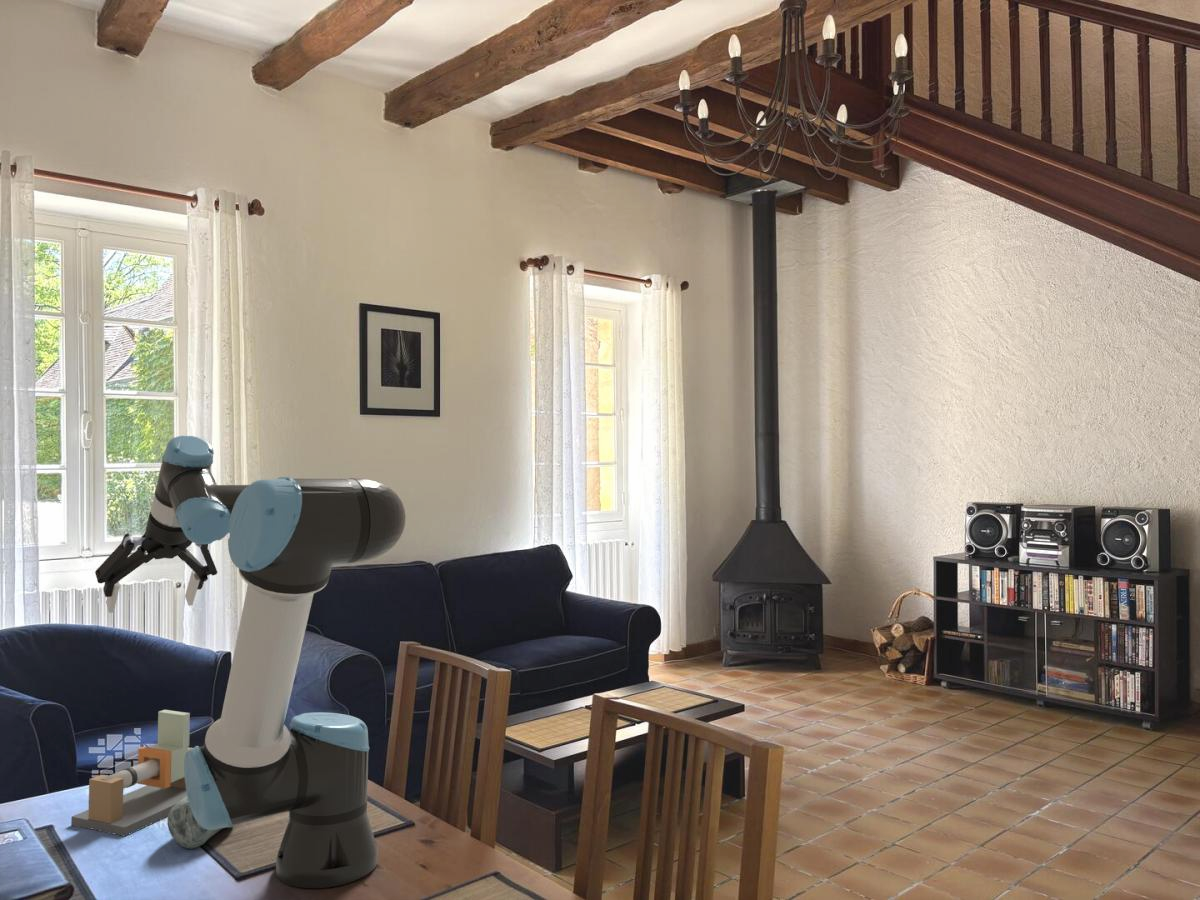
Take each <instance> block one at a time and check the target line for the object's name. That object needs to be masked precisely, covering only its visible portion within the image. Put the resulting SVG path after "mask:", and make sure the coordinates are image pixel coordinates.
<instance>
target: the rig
mask: <svg viewBox="0 0 1200 900" xmlns="http://www.w3.org/2000/svg"><path fill="white" fill-rule="evenodd" d="M192 748H193V747H190V746H188V750H190V749H192ZM159 774H160V759H156V758H154V759H151V760H149V761H146V762H143V763H141V764H138V763H137V764H136V765H133V766H131V767H127V768H124V769H122V770H120V771H117V772H114V773H113V774H112V773H111V774H110V775H106V774H99V775H97V776H94V777H91V778H89V780H88V809H87V810H85V811H82V812H80V813H77V814H75V815H73V816H71V823H70V824H71V826H72V827H76V828H83V829H86V828H93V829H96V830H101V831H106V832H110V833H109V834H111V833H115V834H114V835H116V834H119V835H118V836H121V835H127V834H129V833H131V832H133V831H135V830H137V829H139V830H141V829H140V828H142V827H144V828H145V826H146V825H148V826H149V824H150V825H152V824H155V823H156V821H157V822H158V820H159V821H161V820H162V818H163V819H165V818H168V814H169V812H170V810H171V809H172V807H173V806H175V805H176V804H177V803H178V802H179V801H180V800H181V799H182V798H184V797H185V796H186V795H187V791H186V785H185V777H183V778H181V779H179V780H176V781H174V782H172V783H170V787H167V788H159V787H153V786H148V785H143V786H141V787H139V788H138V789H134V790H133V791H130V792H128V793H126V794H124V789H127V788H131V787H134V786H135V785H136V784H138V783H139V782H141V781H144V780H146V779H149V778H151V777H154V776H156V775H159ZM160 819H161V820H160ZM151 823H152V824H151ZM146 827H147V826H146ZM142 829H143V828H142ZM96 830H95V831H96ZM101 831H100V832H101ZM137 831H138V830H137ZM106 832H105V833H106ZM135 832H136V831H135ZM133 833H134V832H133ZM131 834H132V833H131ZM129 835H130V834H129ZM127 836H128V835H127Z"/></svg>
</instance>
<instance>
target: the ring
mask: <svg viewBox="0 0 1200 900" xmlns="http://www.w3.org/2000/svg"><path fill="white" fill-rule="evenodd" d="M150 747H151V746H149V747H148V746H141V747H138V749H137V750H138V751H137V752H138V754H137V755H138V756H137V760H138V761H137V765H138V764H141V763H143V762H146V761H149V757H150V758H156V759H160V777H155V776H154V777H151V778H149V779H146V780H144V781H141V782H139V783H137V784H138V785H143V786H147V785H148V786H153V787H159V788H167V787H170V775H171V751H169V750H163V749H157V748H150Z"/></svg>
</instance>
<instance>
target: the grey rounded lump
mask: <svg viewBox="0 0 1200 900" xmlns="http://www.w3.org/2000/svg"><path fill="white" fill-rule="evenodd" d="M166 818H167V828H168V830H169V833H170V835H171V837H172V839H174V840H175V842H176V843H177V844H178V845H179V846H181V847H183V848H185V849H190V850H191V849H196V848H198V847H201V846H202V845H204V844H205V843H207V841H208V840H209V839H210V838H212V837H213V836H215V835H216V834H217V833H218V832H219V831H221V830H222V829H224V828H219V829H214V830H207V829H204V828H202V827H201V826H200V825H199V824H198V823H197V821H196V820H195V818H194V816H193V813H192V810H191V807H190V804H189V800H188V796H187V795H186V796H185V797H184V798H182V799H181V800H180V801H179V802H178V803H177V804H176V805H175V806H173V807H172V809H171V810H170V812H169V814H168V816H167V817H166Z"/></svg>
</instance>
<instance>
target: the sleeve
mask: <svg viewBox="0 0 1200 900" xmlns="http://www.w3.org/2000/svg"><path fill="white" fill-rule="evenodd" d="M157 713H158V714H157V715H158V716H157V744H156V745H151V746H149V747H150V748H157V749H163V750H169V751H171V775H170V783H172V782H174V781H176V780H179V779H181V778H183V777H184V759H185V755H186V753H187V751H188V747H190V725H191V724H190V722H191V719H190V718H191V717H190V716H191V712H184V711H176V710H170V709H163V710H159V711H158V712H157ZM151 759H154V758H150V757H149V760H151ZM155 777H160V774H159V775H156V776H155Z"/></svg>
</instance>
